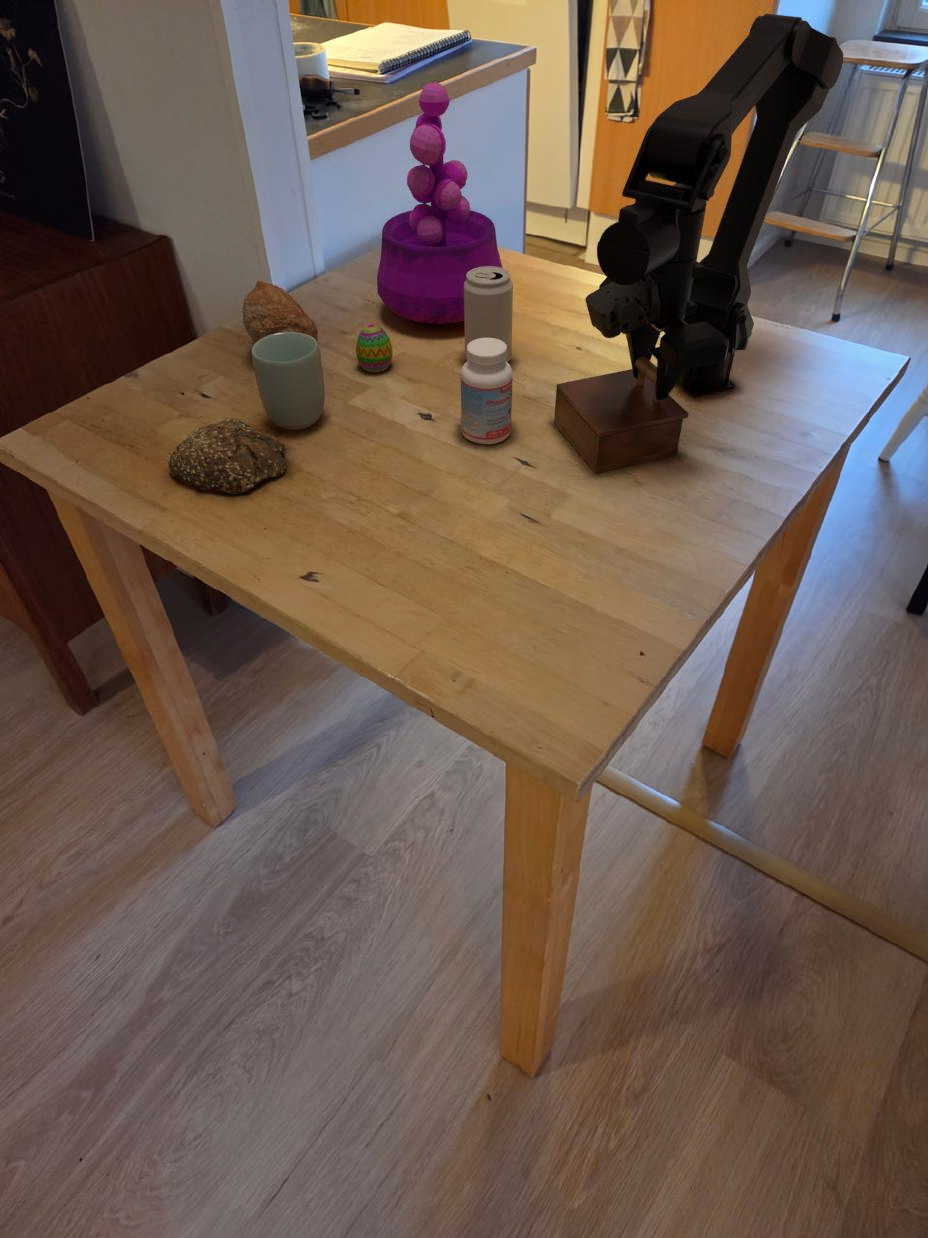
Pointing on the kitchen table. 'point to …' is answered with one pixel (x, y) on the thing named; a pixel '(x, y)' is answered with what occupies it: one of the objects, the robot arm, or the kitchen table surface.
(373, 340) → the egg
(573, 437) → the chest
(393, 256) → the decorative plant
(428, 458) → the kitchen table surface
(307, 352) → the cup
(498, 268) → the beverage can
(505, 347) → the pill bottle
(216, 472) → the bread roll
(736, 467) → the kitchen table surface
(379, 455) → the kitchen table surface
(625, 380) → the lid
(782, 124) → the robot arm
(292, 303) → the crusty roll
